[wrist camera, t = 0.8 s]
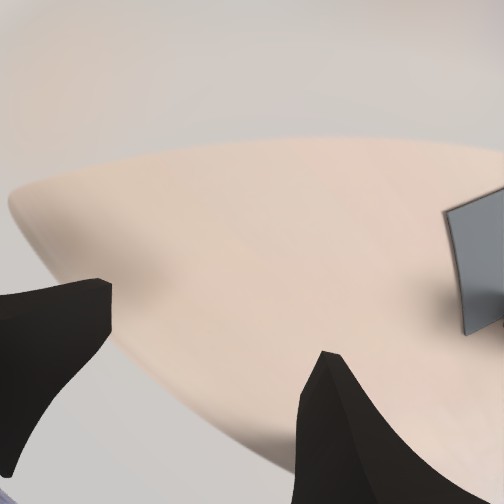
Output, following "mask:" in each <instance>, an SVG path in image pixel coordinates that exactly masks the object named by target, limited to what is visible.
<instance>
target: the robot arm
mask: <svg viewBox="0 0 504 504" xmlns="http://www.w3.org/2000/svg"><path fill="white" fill-rule="evenodd" d="M111 304H112V284H111V283H109V282H106V281H104V280H102V279H99V278H95V279H87V280H82V281H77V282H72V283H67V284H63V285H58V286H53V287H49V288H44V289H39V290H33V291H27V292H22V293H16V294H9V295H8V294H7V295H0V475H1V476H2V477H4V478H11V477H12V475H13V472H14V470H15V467H16V465H17V462H18V460H19V457H20V455H21V453H22V450H23V448H24V446H25V444H26V443H27V441H28V438H29V437H30V435H31V433H32V431H33V430H34V428H35V426H36V425H37V423H38V421H39V420H40V418H41V416H42V415H43V413H44V412H45V410H46V409H47V408H48V406H49V405H50V403H51V402H52V400H53V399H54V397H55V396H56V395H57V394H58V393H59V392H60V390H61V389H62V388H63V387H64V386H65V385H66V384H67V383H68V382H69V381H70V380H71V379H72V378H73V377H74V375H76V374H77V372H78V371H79V370H80V369H81V368H82V367H83V366H84V365H85V364H86V363H87V362H88V361H89V360H90V359H91V358H92V357H93V356H94V355H95V354H96V352H97V351H98V350H99V348H100V347H101V346H102V345H103V343H104V342H105V340H106V339H107V338H108V336H109V335H110V333H111V332H112V325H111ZM0 504H17V503H16V502H15V501H14V500H12V499H11V498H10V497H9V496H8V495H7V494H6V493H5V492H3V491H2V490H1V489H0ZM291 504H490V503H488V502H486V501H484V500H482V499H480V498H478V497H476V496H474V495H473V494H471V493H469V492H467V491H465V490H463V489H462V488H460V487H458V486H457V485H455V484H454V483H452V482H451V481H449V480H448V479H446V478H445V477H444V476H442V475H441V474H440V473H438V472H437V471H436V470H434V469H433V468H432V467H431V466H430V465H428V464H427V463H426V462H425V461H424V460H423V459H421V458H420V457H419V456H418V455H417V454H416V453H415V452H414V451H413V450H412V449H411V448H410V447H409V446H408V445H407V444H406V443H405V442H404V441H403V440H402V439H401V438H400V437H399V436H398V435H397V433H396V432H395V431H394V430H393V429H392V428H391V426H390V425H389V424H388V423H387V421H386V420H385V419H384V418H383V416H382V415H381V414H380V413H379V411H378V410H377V409H376V407H375V406H374V404H373V403H372V402H371V400H370V399H369V397H368V396H367V394H366V393H365V392H364V390H363V389H362V387H361V386H360V384H359V383H358V381H357V379H356V378H355V376H354V375H353V373H352V372H351V370H350V369H349V367H348V366H347V364H346V363H345V361H344V360H343V358H342V357H341V356H340V355H339V354H334V353H330V352H326V351H322V352H321V354H320V356H319V358H318V360H317V362H316V365H315V367H314V369H313V371H312V373H311V375H310V377H309V379H308V381H307V383H306V385H305V387H304V389H303V391H302V393H301V395H300V401H299V407H298V414H297V422H296V461H295V482H294V490H293V496H292V502H291Z"/></svg>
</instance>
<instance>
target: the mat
mask: <svg viewBox="0 0 504 504" xmlns="http://www.w3.org/2000/svg"><path fill="white" fill-rule="evenodd" d="M446 214H447V218H448V222H449V227H450V231H451V236H452V240H453V245H454V250H455V256H456V262H457V268H458V274H459V281H460V288H461V297H462V306H463V318H464V333H465V336H468V335H470V334H472V333H474V332H476V331H478V330H480V329H481V328H483V327H485V326H487V325H489V324H491V323H493V322H494V321H496V320H498V319H500V318H501V317H503V316H504V189H502V190H500V191H497V192H495V193H493V194H490V195H488V196H486V197H483V198H481V199H478V200H476V201H473V202H471V203H469V204H466V205H464V206H461V207H459V208H456V209H454V210H451V211H449V212H446Z"/></svg>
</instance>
